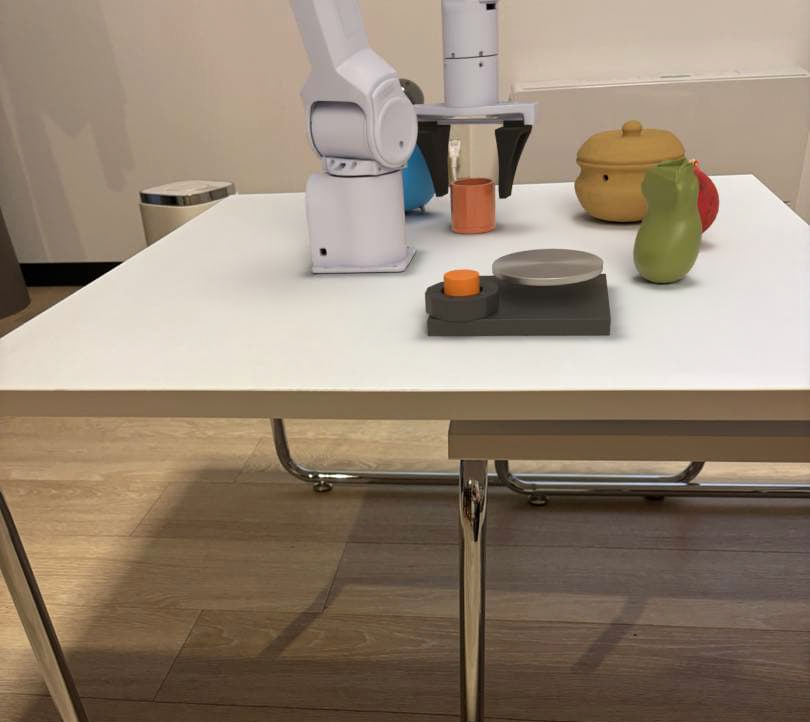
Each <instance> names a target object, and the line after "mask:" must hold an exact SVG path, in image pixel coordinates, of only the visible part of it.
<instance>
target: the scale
mask: <svg viewBox="0 0 810 722" xmlns="http://www.w3.org/2000/svg"><path fill="white" fill-rule="evenodd" d="M479 285H480V293H477V294H473V295H468V296H450V295H445V294H444V281H440V282H437V283H435V284H433V285H432V284H431V285H430V286H428V287H427V288H426V290H425V292H424V304H425V313H426V314H427V315H428V316H427V320H426V326H427V327H426V328H427V329H426V330H427V337H559V336H560V337H565V336H566V337H572V336H573V337H581V336H582V337H583V336H586V337H590V336H591V337H592V336H596V337H597V336H603V337H604V336H607V337H609V336H610V335H611V325H612V324H611V323H612V322H611V321H612V316H611V307H610V300H609V299H610V297H609V289H608V280H607V274H606V273H600V274H599V275H598V276H596V277H594V278H592V279H589V280H586V281H583V282H578V283H573V284H567V285H557V286H529V285H519V284H513V283H509V282H505V281H502V280H500V279H498V278H496V277H495V276H494V275H493V274H492V275H479Z"/></svg>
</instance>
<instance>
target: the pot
mask: <svg viewBox="0 0 810 722" xmlns="http://www.w3.org/2000/svg"><path fill="white" fill-rule="evenodd" d="M685 154H686V148H685V146H684V144H683V142H681V140H680V138H678V137H677V136H676V134H675V133H673V132H671V131H669V130H665V129H658V128H643V125H642V123H641V122H640V121H639V120H637V119H636V120H635V119H634V120H633V119H631V120H627V121H626V122H624V124H623V125H622V127H621V129H612V130H611V129H610V130H605V131H599V132H596V133H594V134H593V135H591V136H590V137H589V138H588V139H586V140H585V141H584V142H583V143H582V145H581V146H580V147H579V149H578V150H577V152H576V158H575V163H576V164H577V165H578V166H579V167H580V172H579V175H578V177H576V179H575V180H574V183H573V184H574V185H573V187H574V193H575V196H576V197H577V200H578V202H579V204H580V206H581V207H582V208H583V210H584V211H585V212H586V213H587V214H588V215H590V216H592V217H593V218H596V219H599V220H602V221H609V222H617V223H618V222H619V223H623V222H625V223H626V222H627V223H628V222H638V221H643V219H644V217H645V214H646V210H647V202H646V200H645V198H644V197H643V194H642V191H641V185H642V182H643V180H644V177H645V172H646V170H649V169H651V168H652V167H656V166H657V165H658V164H660V163H661V162H662V161H664V160H670V161H678V160H680V159H681V160H682V159H684V158H686V155H685Z"/></svg>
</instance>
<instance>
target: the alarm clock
mask: <svg viewBox="0 0 810 722" xmlns="http://www.w3.org/2000/svg"><path fill="white" fill-rule="evenodd" d="M399 82H400V85H401V88H402V90H403V92H404V93H405V95H406V96H407V98H408V99H409V100H410V101H411V103H412V105H414V104H425V95H424V92H423V90H422V89H421V87H420V86H419V84H417V83H416V82H414V81H413V80H411V79H408V78H404V77H403V78H402V77H401V78H399ZM402 179H403V196H404V212H410V211H413V210H417V209H420V211H421V213H422V214H423V215H425V214H426V207H425V206H426V205H427V204H428V203H429V202H430V201H431V200H432V199H433V198H434V196H435V190H434V186H433V182H432V179H431V176H430V172H429V170H428V167H427V164H426V162H425V159H424V157H423V155H422V153H421V151H420V149H419V147H418V146H417V144H416V145H415V148H414V150H413V153H412V154H411V156H410V158H409V159H408V160H407V167H406V168H403V169H402Z"/></svg>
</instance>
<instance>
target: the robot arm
mask: <svg viewBox="0 0 810 722" xmlns="http://www.w3.org/2000/svg"><path fill="white" fill-rule="evenodd" d="M288 1H289V4H290V7H291V9H292V10H291V11H292V13H293V16H294V19H295V21H296V24H297V27H298V31H299V33H300V36H301V40H302V42H303V46H304V49H305V51H306V54H307V57H308V60H309V63H310V66H311V72H310V73H309V75H308V77H307V79H306V80H305V82H304V84H303V86H302V87H301V89H300V92H299V95H300V99H301V101H302V105H303V108H304V113H305V133H306V134H305V135H306V138H307V139H306V140H307V142H308V144H309V147H310V149H311V151H312V152H313V154H314V155H315V156H316V157H317V158H318V159H320V160H321V167H322V172H321V171H319V172H313V173H310V174H309V175H308V177H307V179H306V184H305V198H304V199H305V212H306V219H307V227H308V238H309V245H310V253H311V261H312V267H311V273H313V274H339V273H341V274H344V273H348V274H349V273H395V272H396V273H397V272H398V273H399V272H404V271H405V270H406V269H407V267H408V265H409V264H410V262H411V260H412V259H413V257H414V255H415V254H416V252H417V247H415V246H407V231H406V230H407V229H406V213H405V212H406V211H405V212H404V196H403V179H402V169H403V168H406V167H407V160H408V159H409V158H410V156H411V154H412V153H413V150H414V148H415V145H416V144H417V146H418V147H419V149H420V151H421V153H422V155H423V157H424V159H425V162H426V164H427V167H428V170H429V172H430V176H431V179H432V182H433V186H434V190H435V194H434V196H435V197H436V198H442V197H444V196H446V195H448V194H449V190H450V179H449V147H450V146H449V143H450V135H451V128H452V126H453V125H502V126H500V127H498V128H495V129H494V137H495V141H496V142H495V143H496V150H497V160H498V161H497V162H498V182H497V183H498V184H497V185H498V187H497V188H498V199H500V200H506V199H507V198H509V197H510V196H512V193H513V187H514V181H515V176H516V172H517V169H518V165H519V163H520V159H521V157H522V155H523V151H524V149H525V146H526V144H527V143H528V140H529V137H530V135H531V134H532V130H533V125H535V124H538V123H540V103H541V102H540V101H512V100H509V101H508V100H499V2H500V0H440V5H441V6H440V10H441V35H442V36H441V37H442V38H441V39H442V40H441V41H442V67H443V68H442V69H443V72H442V73H443V92H444V93H443V99H444V102H439V103H438V102H435V103H424V104H414V105H412V103H411V101H410V100H409V99H408V98H407V96H406V95H405V93H404V92H403V90H402V88H401V85H400V82H399V79H400V78H399V75H398V72H397V71H396V69H394V67H392V66H391V65H390V64H389V63H388V62H387V61H385V59H384V58H382V56H380V55H379V54H377V53H376V52H375V51H374V50H373V49H372V47H371V44H370V41H369V38H368V33H367V31H366V27H365V24H364V20H363V15H362V12H361V9H360V6H359V2H358V0H288ZM477 116H485V117H484V118H483V117H482V118H456V117H477Z"/></svg>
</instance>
